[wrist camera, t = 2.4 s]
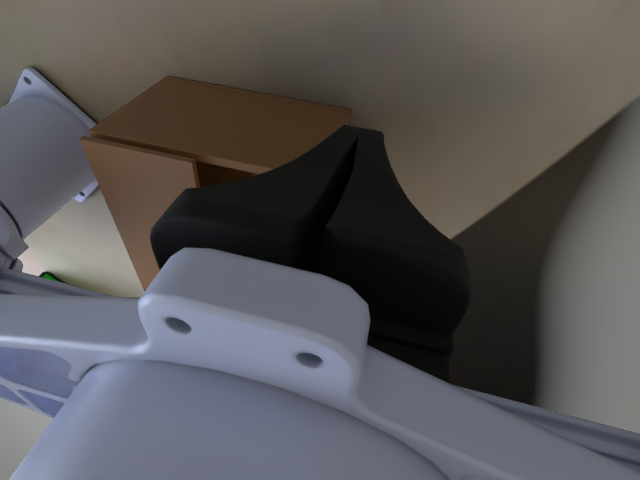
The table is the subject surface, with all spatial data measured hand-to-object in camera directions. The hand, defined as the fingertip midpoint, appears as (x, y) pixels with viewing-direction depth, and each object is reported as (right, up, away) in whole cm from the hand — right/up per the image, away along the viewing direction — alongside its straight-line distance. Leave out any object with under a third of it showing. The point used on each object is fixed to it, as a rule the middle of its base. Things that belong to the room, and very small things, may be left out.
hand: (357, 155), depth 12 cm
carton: (-6, +2, +15) cm, 16 cm away
